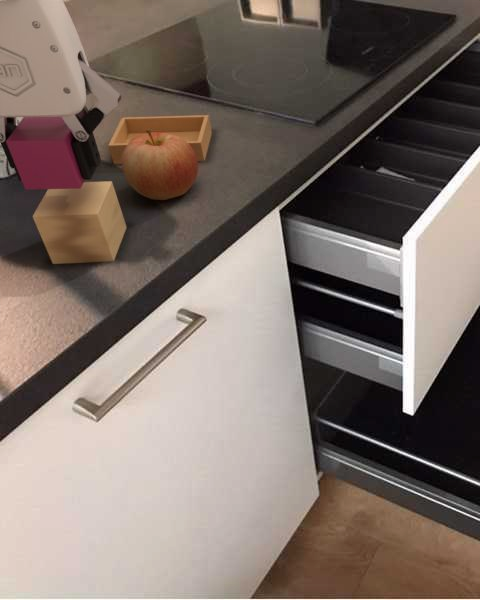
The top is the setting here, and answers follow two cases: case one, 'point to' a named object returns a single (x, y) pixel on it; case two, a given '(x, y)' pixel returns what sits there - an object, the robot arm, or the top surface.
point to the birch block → (81, 223)
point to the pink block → (45, 154)
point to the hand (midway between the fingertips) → (59, 171)
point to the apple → (159, 165)
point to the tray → (185, 127)
